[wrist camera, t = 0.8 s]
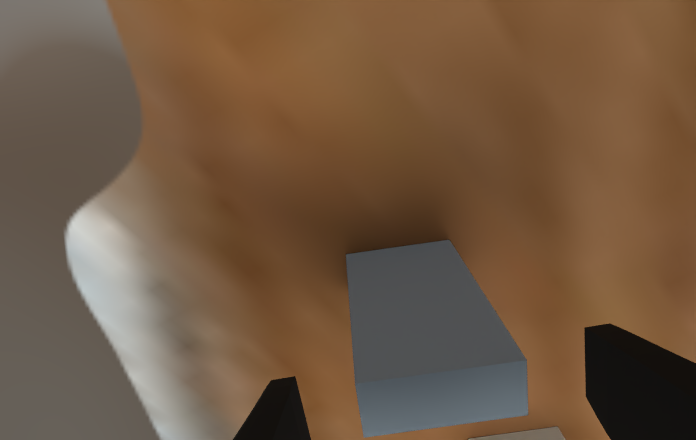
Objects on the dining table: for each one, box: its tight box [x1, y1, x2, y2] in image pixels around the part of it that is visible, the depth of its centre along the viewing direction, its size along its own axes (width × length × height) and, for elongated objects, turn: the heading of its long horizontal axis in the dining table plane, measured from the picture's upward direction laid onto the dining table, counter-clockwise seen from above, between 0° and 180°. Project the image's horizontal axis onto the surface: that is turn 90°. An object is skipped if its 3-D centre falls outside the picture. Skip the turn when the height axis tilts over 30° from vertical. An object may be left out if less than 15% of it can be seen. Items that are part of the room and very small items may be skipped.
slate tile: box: [346, 240, 528, 437], centre depth 18 cm, size 2×5×9 cm, turn 98°
